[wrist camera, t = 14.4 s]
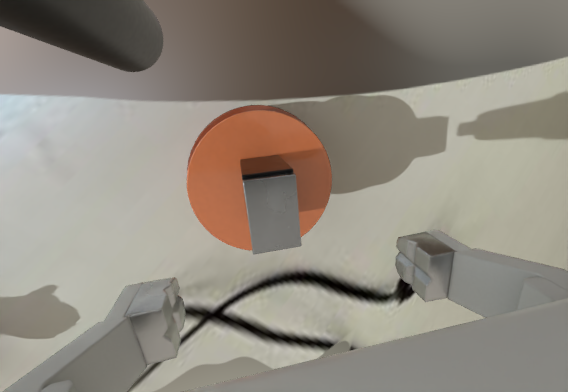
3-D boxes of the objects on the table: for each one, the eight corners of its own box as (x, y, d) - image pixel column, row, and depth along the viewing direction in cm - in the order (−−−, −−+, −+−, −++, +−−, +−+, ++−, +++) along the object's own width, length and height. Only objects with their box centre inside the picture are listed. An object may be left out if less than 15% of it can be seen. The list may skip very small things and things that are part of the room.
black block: (239, 159, 20) (241, 177, 14) (279, 154, 20) (295, 170, 15) (248, 220, 21) (253, 257, 16) (284, 214, 22) (301, 249, 16)
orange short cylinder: (190, 112, 29) (163, 112, 18) (299, 101, 30) (334, 96, 19) (210, 215, 32) (198, 266, 22) (305, 200, 34) (338, 242, 23)
